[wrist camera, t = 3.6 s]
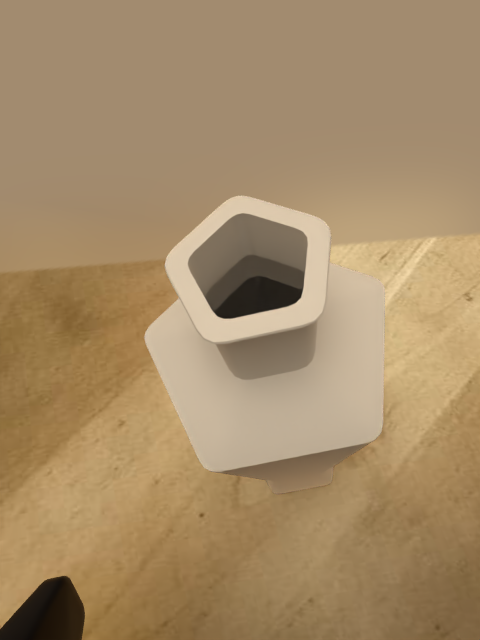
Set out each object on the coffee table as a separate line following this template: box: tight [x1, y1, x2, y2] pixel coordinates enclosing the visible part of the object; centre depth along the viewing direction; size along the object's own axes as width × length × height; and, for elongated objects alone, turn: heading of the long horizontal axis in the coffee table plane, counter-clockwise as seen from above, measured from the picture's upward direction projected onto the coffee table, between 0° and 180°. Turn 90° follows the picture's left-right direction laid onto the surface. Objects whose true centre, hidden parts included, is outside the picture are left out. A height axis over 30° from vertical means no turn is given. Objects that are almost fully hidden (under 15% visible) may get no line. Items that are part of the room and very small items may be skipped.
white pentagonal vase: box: [144, 196, 385, 494], centre depth 12 cm, size 5×4×15 cm
